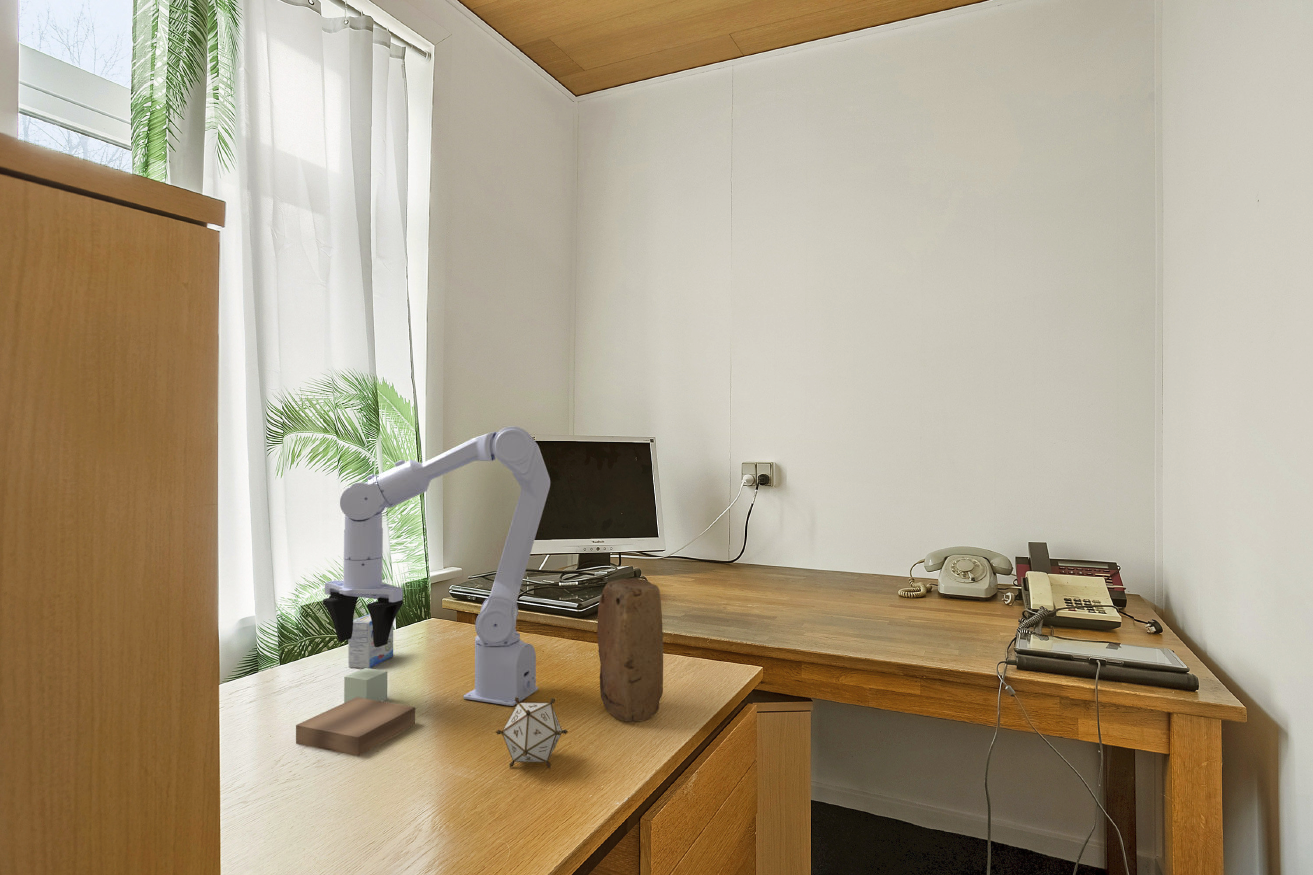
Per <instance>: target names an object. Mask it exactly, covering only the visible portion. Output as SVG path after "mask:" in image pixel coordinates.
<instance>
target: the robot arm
mask: <svg viewBox="0 0 1313 875" xmlns="http://www.w3.org/2000/svg"><path fill="white" fill-rule="evenodd" d="M539 446H540V445H538V443H537V442H536V441H535V439H534V438H533V436H532V435H531V434H530V433H529V432H528V431H527V430H525V429H524V428H521V427H519V426H513V425H511V426H506V427H503V428H502V429H500V430H499V431H491V432H489V433H485V434H482V435H478V436H475V437H474V438H473V437H472V438H470V439H468V440H467V441H464V442H463V443H461V444H459V445H457V446H455V447H453V448H451V449H449V450H446V451H444V452H442V453H440V454H439V455H436V456H434V457H433V458H430V459H428V460H425V461H424V462H419V461H416V460H414V459H409V460H407V461H405V460H404V459H400V460H398V461H396V462H394V465H395V466H394V467H392V468H390V469H387V470H384V471H382V472H380V473H378V474H376V475H375V473H371V474H369V475H367V476H366V479H367V481H366V482H355V483H352V485H350V486H348V488H346V489H345V490H344V491H343V492H342V494H341V496H340V500H339V506H340V509H341V511H342V513H343V514H344V530H343V580H335V579H334V580H331V581H326V582H324V595H327V596H328V595H329V597H326V598H324V599H323V600H322V604H323V605H324V607H325V609H326V610H327V612H328V613H329V616H330V618H331V620H332V623H333V625H334V626H333V627H334V629H335V630H334V631H335V634H336V636H337V641H338V642H341V643H342V642H345V641H348V639H351V637H352V632H353V620H354V615H355V610H356V607H357V603H358V599H359V598H365V599H372V600H373V599H374V600H377V601H373V602H369V603H367V604H366V608H367V610H368V612H369V613H368V614H370V616H371V620H372V626H373V642H374V647H381V646H383V645H386V644H387V642H388V638H389V634H390V631H391V627H392V624H393V625H394V622H395V619H396V617H397V615H398V613H399V611H400V609H401V608H402V606H403V604H404V600H403V597H404V596H403V593H404V591H403V590H404V588H403V587H400V586H399V587H398V586H394V585H391V584H388V583H385V582H383V558H384V557H383V549H384V548H383V542H384V541H383V540H384V539H383V538H384V537H383V536H384V535H383V534H384V533H383V530H384V529H383V512H384V511H385V509H386V508H387V509H392V508H393V507H396V506H398V505H399V504H402V503H405V502H406V501H409V500H410V499H413V498H416V497H417V496H420V495H422V494H423V493H426V492H427V491H428V489H429V487H430V483H431V481H432V480H434V479H436V478H439V477H441V476H443V475H445V474H448V473H450V472H453V471H455V470H457V469H459V468H460V469H461V468H462V467H464V466H466V465H469V464H471V463H473V462H476V461H477V462H479V461H480V462H494V461H496V460H498V461H499V462H500V463H501V464H502V465H503V466H504V467H506V468H507V469H509V471H510V472H511V473H512V475H513V477H514V478H515V480H516V482H517V483H518V485H519V486H520V493H519V496H518V500H517V503H516V506H515V510H514V513H513V516H512V520H511V523H510V527H509V528H508V529H509V530H508V533H507V536H506V539H505V543H504V546H503V550H502V553H501V556H500V560H499V563H498V567H497V571H496V574H495V577H494V581H493V584H492V587H491V591H490V594H489V596H488V597H487V598H485V600H484V601H483V602H482V604H481V608H480V612H479V613H478V615H477V617H476V619H475V623H474V624H475V625H474V627H475V633H476V636H475V638H474V689H473V690H471V691H468V692H467V693H465V694H463V699H465V700H471V701H477V702H484V703H490V704H497V705H504V706H508V707H509V706H510V707H511V706H512V707H514V706H516V705H517V703H516V701H515V697H517V698H519V702H522V701H524V699H526V698H527V697H529V696H531V695H532V694H533V693H535V692H537V691H538V690H539V687H538V686H537V683H536V682H537V677H536V676H537V671H536V670H537V669H536V668H537V662H536V661H537V660H536V659H537V657H536V656H537V655H536V654H537V653H536V650H535V647H534V646H533V644H531V643H528V642H525V641H524V640H522V639H521V635H520V633H519V632H518V631H517V630H516V626H517V619H518V615H519V607H518V603H517V602H518V598H519V594H520V592H521V588H522V585H523V580H524V576H525V574H526V570H527V568H528V563H529V560H530V556H531V553H532V550H533V545H534V543H535V539H536V536H537V532H538V529H539V525H540V522H541V519H542V516H543V511H544V509H545V505H546V502H547V498H548V495H549V492H550V487H551V478H550V474H549V472H548V470H547V466H546V464H545V461H544V458H543V455H542V453H541V452H542V451H541V449H540V447H539Z"/></svg>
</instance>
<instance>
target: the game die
mask: <svg viewBox="0 0 1313 875" xmlns="http://www.w3.org/2000/svg"><path fill="white" fill-rule="evenodd" d="M515 701H516V703H517V704H515V707H514V709H513V710H512V712H511V714H510V716H509V718H508V719H507V721H506V723H505V725H504V726H503V728H502V730H501V729H497V730H496V731H495V732H494V733H495V734H497V735H502V738H503V740H504V742H505V745H506V748H507V749H508V752H509V754H510V757H511V761H510V763H509V769H510V768H512V767H514V766H515V763H546V767H547V768H549V769H550V770H551V767H552V764H551V762H550V761H549V760H550V759H551V756H552V755H553V753H554V751H555V749H556V747H557V744H558V742H559V740H560V738H561V737H562V735H566V734H567V733H569V731H568V730H567V729H562V726H561V724H560V721H559V719H558V716H557V714H556V711H555V708H554V705H553V704H554V703H555V702H556V697H552V698H551V699H550V702H533V701H532V702H526V701H520V702H519V698H517V697H515Z"/></svg>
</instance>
